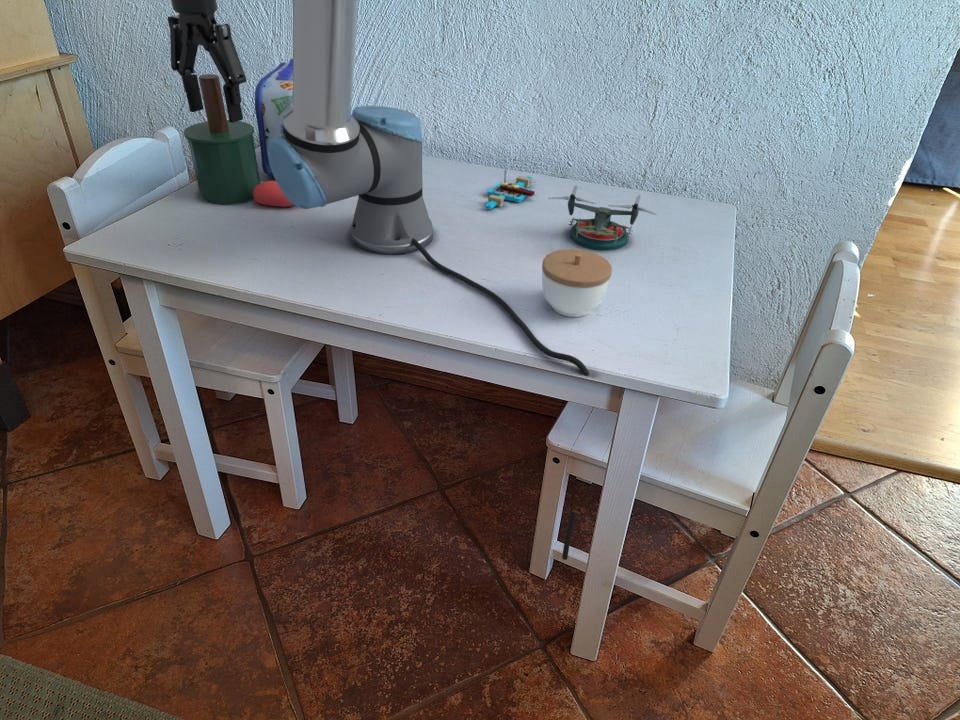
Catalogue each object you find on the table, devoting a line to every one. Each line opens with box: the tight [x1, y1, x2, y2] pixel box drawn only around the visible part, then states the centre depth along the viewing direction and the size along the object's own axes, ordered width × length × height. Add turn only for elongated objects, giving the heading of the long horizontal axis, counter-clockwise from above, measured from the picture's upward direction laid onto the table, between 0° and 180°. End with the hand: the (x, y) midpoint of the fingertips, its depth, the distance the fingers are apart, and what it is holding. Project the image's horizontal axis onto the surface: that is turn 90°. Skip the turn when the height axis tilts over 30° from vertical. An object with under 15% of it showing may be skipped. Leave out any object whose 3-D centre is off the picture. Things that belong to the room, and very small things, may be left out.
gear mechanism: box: [485, 168, 536, 210], centre depth 140 cm, size 20×5×9 cm
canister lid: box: [183, 73, 255, 144], centre depth 127 cm, size 13×13×11 cm
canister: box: [187, 133, 262, 205], centre depth 134 cm, size 12×12×12 cm
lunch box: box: [254, 58, 293, 177], centre depth 146 cm, size 28×10×22 cm, turn 1°
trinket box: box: [541, 248, 613, 318], centre depth 103 cm, size 11×11×9 cm
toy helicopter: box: [547, 185, 659, 251], centre depth 123 cm, size 20×15×8 cm
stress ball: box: [253, 180, 295, 208], centre depth 132 cm, size 5×9×6 cm, turn 72°
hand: (216, 115), depth 128 cm, fingers open, 10 cm apart
